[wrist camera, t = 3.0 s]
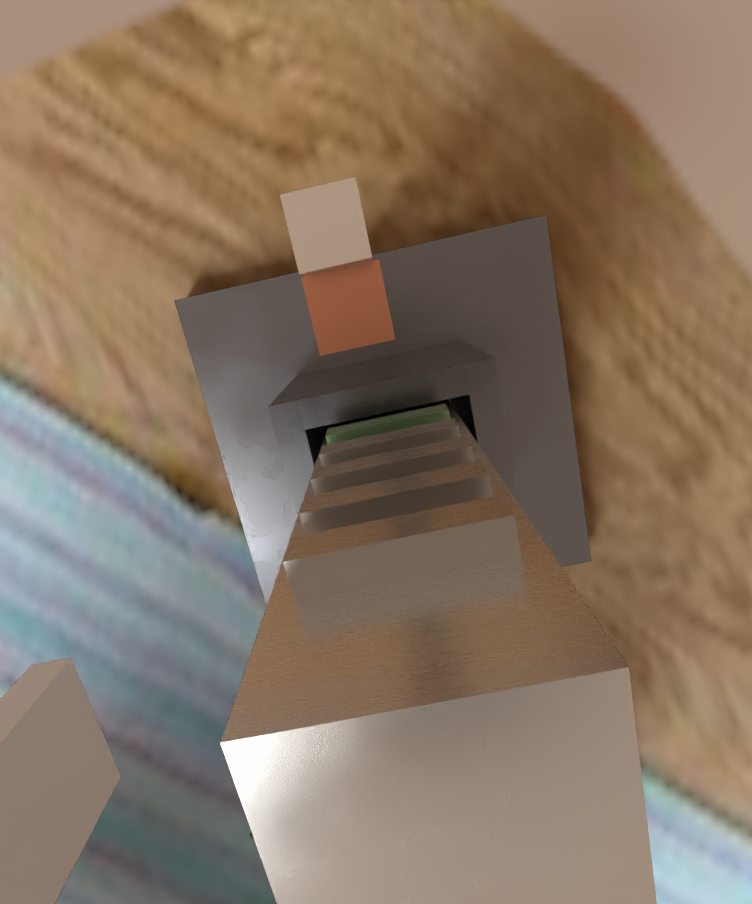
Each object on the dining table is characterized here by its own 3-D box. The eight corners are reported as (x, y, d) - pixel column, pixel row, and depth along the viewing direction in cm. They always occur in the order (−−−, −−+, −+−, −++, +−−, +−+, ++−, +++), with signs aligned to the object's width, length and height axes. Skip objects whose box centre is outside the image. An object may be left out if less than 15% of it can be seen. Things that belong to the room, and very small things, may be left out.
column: (358, 496, 27) (318, 1021, 8) (332, 387, 25) (202, 690, 6) (454, 476, 27) (663, 966, 7) (432, 365, 25) (622, 609, 6)
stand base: (276, 608, 30) (129, 1088, 12) (185, 300, 26) (-255, 321, 8) (580, 547, 30) (917, 967, 11) (536, 218, 25) (959, 33, 7)
